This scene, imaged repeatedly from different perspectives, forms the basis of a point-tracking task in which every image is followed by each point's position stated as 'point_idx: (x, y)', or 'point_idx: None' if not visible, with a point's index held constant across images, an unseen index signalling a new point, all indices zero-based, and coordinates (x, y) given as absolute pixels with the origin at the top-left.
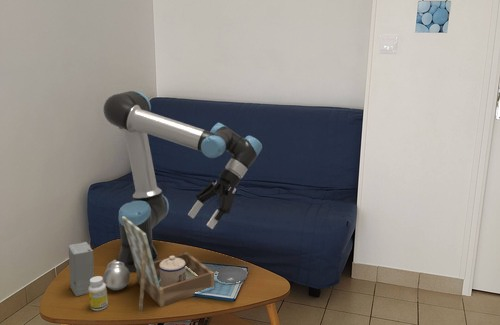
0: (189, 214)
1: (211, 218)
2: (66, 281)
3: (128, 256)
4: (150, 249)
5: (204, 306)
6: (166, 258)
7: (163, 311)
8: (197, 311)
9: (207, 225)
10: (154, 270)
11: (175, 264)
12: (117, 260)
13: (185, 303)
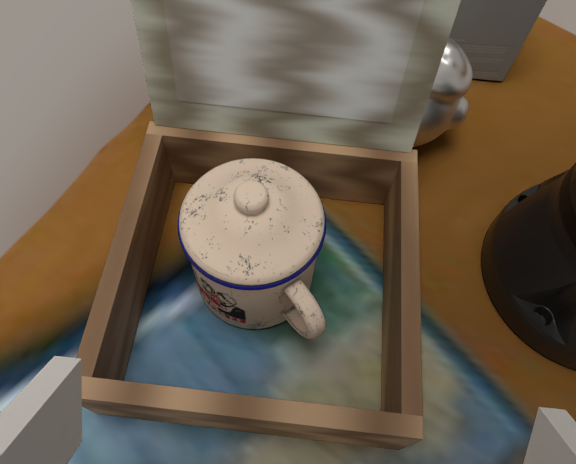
0: (542, 421)
1: (12, 421)
2: (547, 45)
3: (554, 178)
4: (561, 271)
5: (25, 283)
6: (414, 292)
7: (133, 161)
8: (24, 243)
9: (55, 358)
10: (138, 34)
11: (206, 202)
12: (447, 58)
13: (109, 242)
